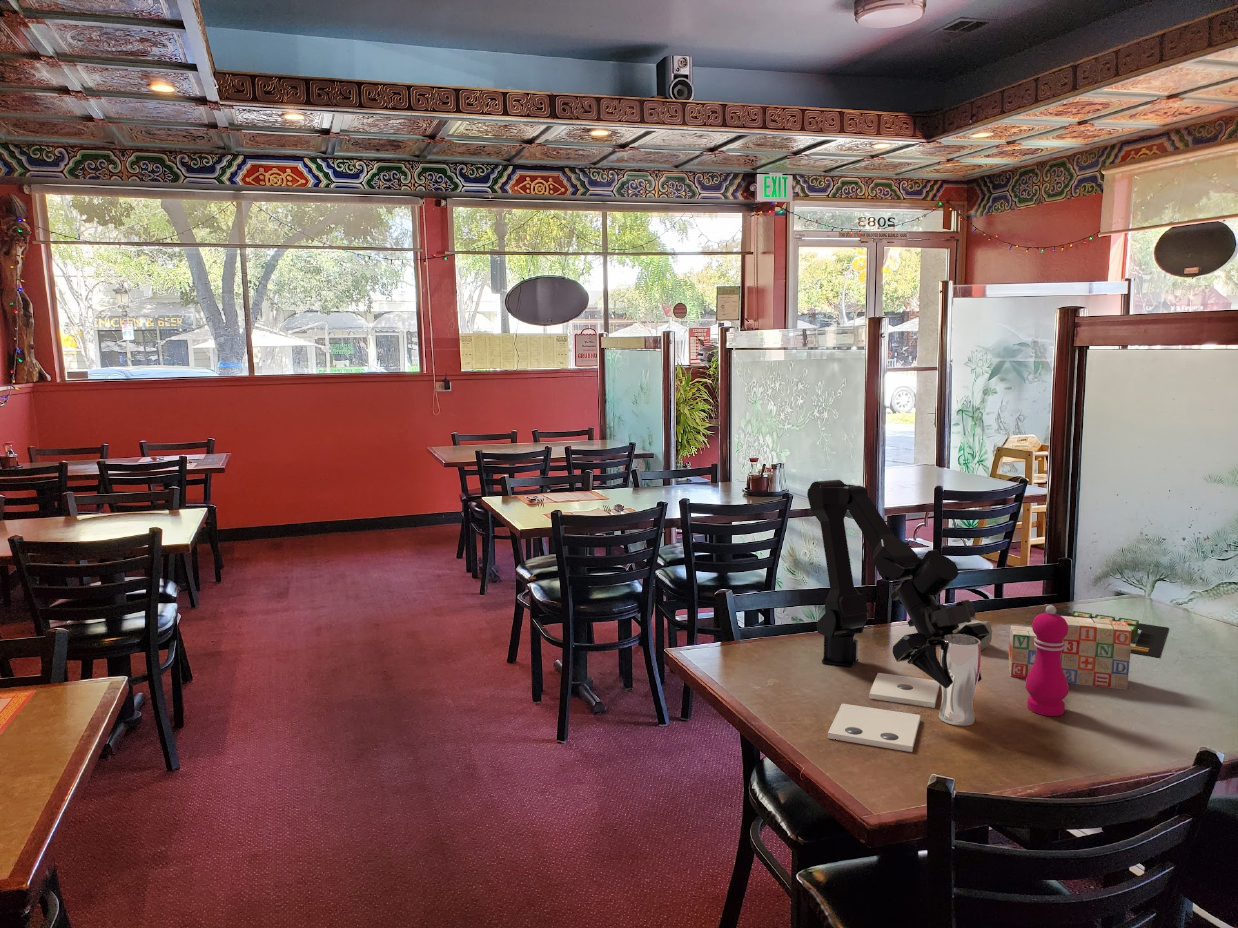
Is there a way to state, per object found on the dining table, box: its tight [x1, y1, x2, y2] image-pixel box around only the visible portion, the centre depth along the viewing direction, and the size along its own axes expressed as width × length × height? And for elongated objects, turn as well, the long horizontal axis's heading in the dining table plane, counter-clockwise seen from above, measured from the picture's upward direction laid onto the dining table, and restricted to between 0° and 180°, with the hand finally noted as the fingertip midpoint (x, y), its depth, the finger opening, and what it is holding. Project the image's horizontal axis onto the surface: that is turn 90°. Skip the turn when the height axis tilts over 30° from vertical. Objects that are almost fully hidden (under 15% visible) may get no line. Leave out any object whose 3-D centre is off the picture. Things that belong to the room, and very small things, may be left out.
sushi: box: [1055, 610, 1169, 659], centre depth 210 cm, size 25×25×4 cm
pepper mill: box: [1024, 604, 1070, 717], centre depth 164 cm, size 7×7×20 cm
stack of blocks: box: [1008, 616, 1132, 690], centre depth 181 cm, size 21×6×12 cm, turn 70°
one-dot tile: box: [868, 672, 941, 709], centre depth 175 cm, size 12×12×1 cm
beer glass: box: [938, 634, 982, 727], centre depth 161 cm, size 7×7×15 cm
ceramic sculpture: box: [953, 614, 993, 651], centre depth 203 cm, size 11×9×15 cm
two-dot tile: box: [827, 703, 921, 753], centre depth 158 cm, size 14×14×1 cm
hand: (963, 683), depth 160 cm, fingers closed on beer glass, 7 cm apart
